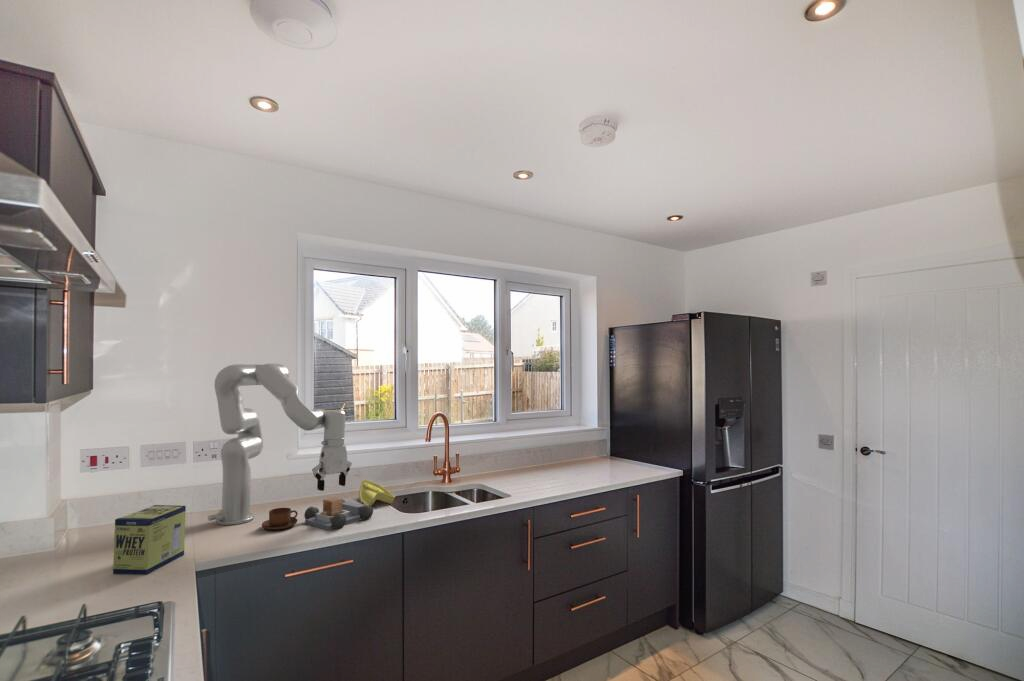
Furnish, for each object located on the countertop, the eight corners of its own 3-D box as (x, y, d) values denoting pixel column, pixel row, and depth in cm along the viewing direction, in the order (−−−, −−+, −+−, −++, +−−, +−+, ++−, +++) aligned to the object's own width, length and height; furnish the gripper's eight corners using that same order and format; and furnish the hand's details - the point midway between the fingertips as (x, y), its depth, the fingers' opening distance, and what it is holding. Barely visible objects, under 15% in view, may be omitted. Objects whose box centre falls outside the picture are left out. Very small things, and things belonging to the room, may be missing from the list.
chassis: (332, 531, 180) (332, 516, 180) (302, 522, 189) (302, 508, 190) (374, 516, 197) (375, 503, 197) (345, 510, 206) (345, 497, 207)
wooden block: (331, 520, 187) (331, 501, 188) (322, 518, 190) (323, 499, 190) (342, 517, 191) (342, 498, 192) (333, 515, 194) (334, 496, 194)
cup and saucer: (284, 520, 193) (284, 504, 193) (304, 525, 187) (304, 508, 187) (254, 529, 183) (255, 511, 183) (274, 534, 176) (275, 517, 177)
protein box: (111, 574, 142) (113, 519, 143) (153, 554, 158) (155, 504, 159) (146, 575, 142) (148, 519, 143) (185, 554, 157) (186, 504, 158)
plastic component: (396, 498, 217) (376, 490, 211) (388, 514, 215) (367, 507, 210) (380, 485, 233) (361, 477, 228) (373, 500, 232) (353, 493, 226)
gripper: (320, 446, 183) (318, 493, 182) (358, 441, 197) (356, 485, 197) (308, 444, 187) (305, 490, 186) (345, 439, 201) (343, 482, 201)
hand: (331, 487), depth 191 cm, fingers open, 9 cm apart
